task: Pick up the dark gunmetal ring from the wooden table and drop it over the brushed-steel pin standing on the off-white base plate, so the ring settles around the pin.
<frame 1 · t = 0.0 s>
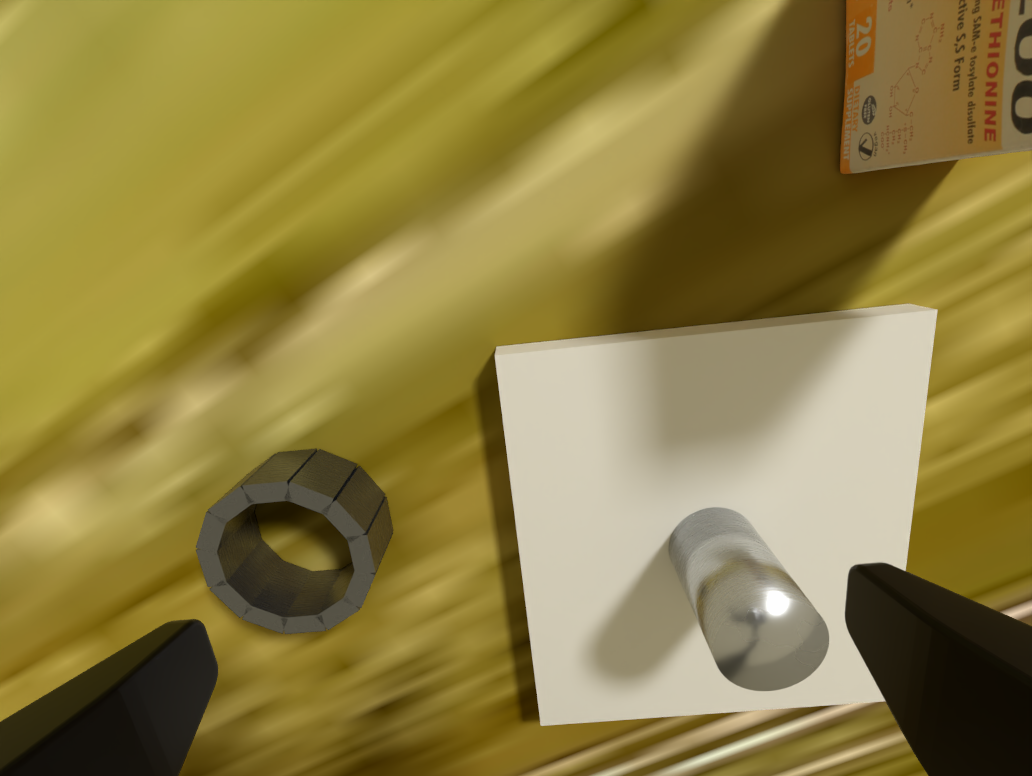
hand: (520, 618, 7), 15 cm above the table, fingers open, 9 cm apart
steel pin: (712, 545, 22), resting on base plate
supplement box: (901, 43, 18), on the table
base plate: (700, 526, 24), on the table
gunmetal ring: (314, 520, 24), on the table
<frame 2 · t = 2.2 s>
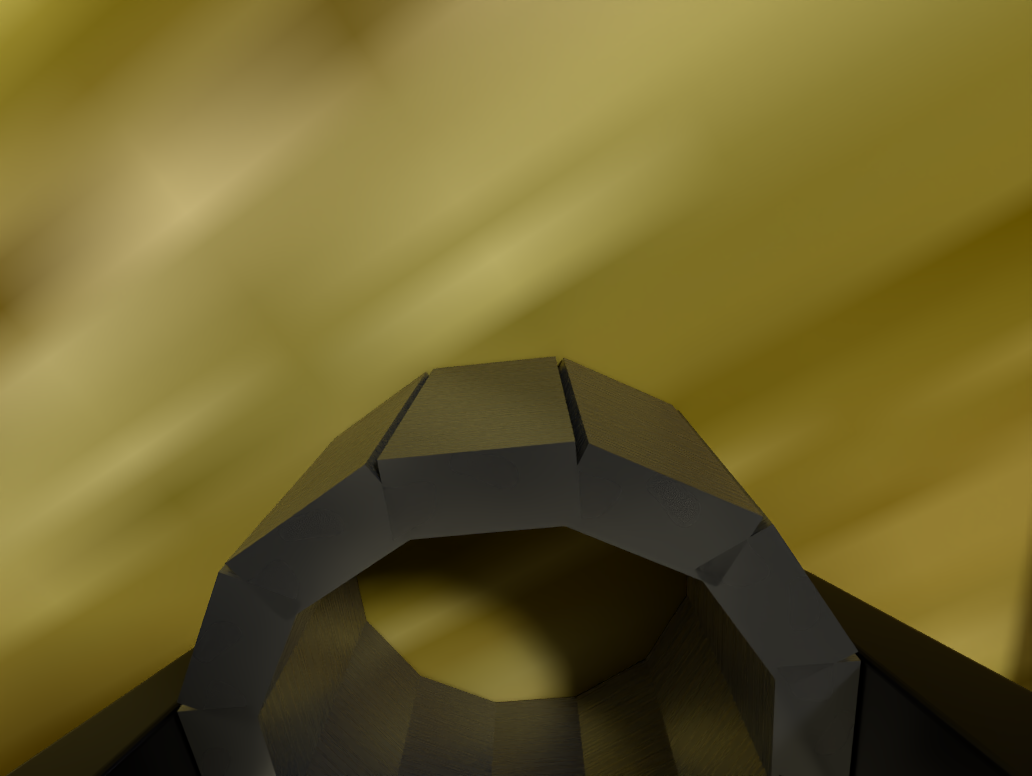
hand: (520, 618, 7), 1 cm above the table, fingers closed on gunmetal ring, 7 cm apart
gunmetal ring: (520, 570, 8), on the table, touching gripper
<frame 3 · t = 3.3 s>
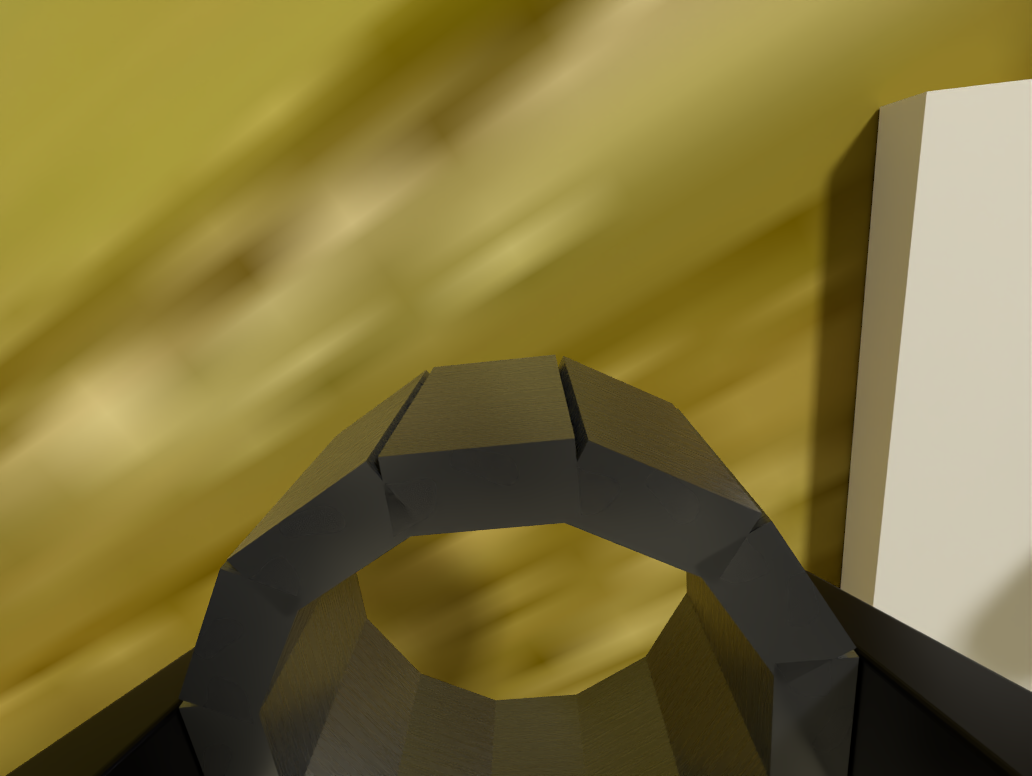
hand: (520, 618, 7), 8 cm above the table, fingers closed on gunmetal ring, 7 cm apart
gunmetal ring: (520, 568, 8), point 7 cm above the table, touching gripper
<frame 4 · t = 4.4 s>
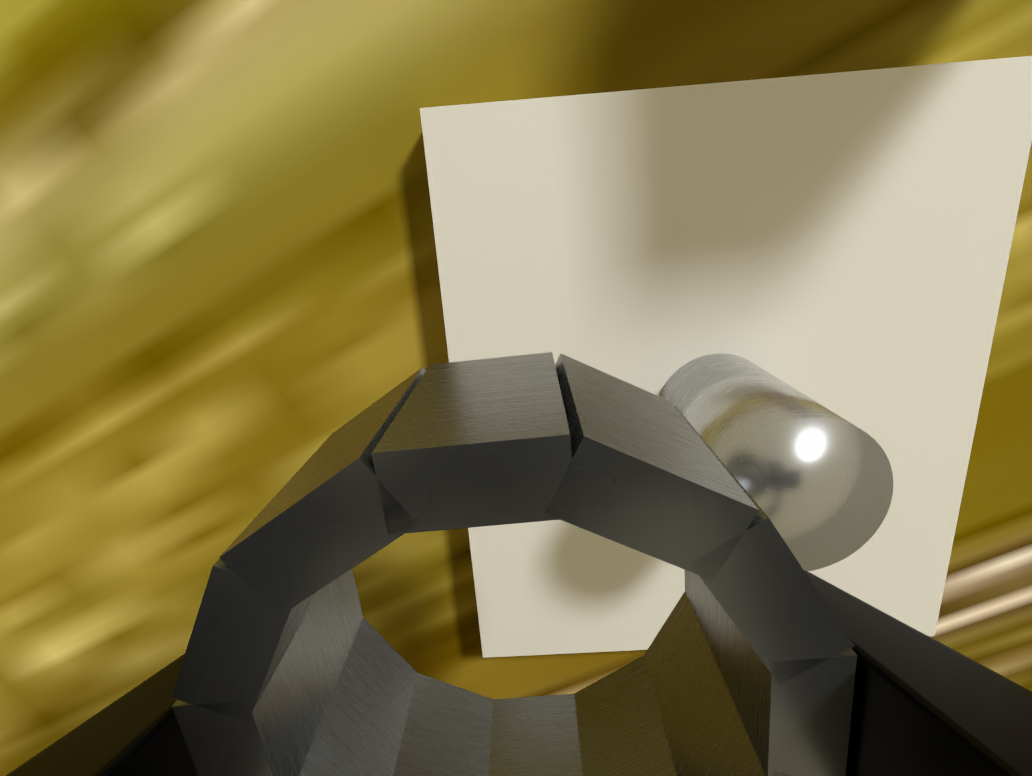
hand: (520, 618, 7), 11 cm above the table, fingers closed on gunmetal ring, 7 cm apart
steel pin: (714, 410, 16), resting on base plate
base plate: (699, 395, 18), on the table
gunmetal ring: (517, 567, 8), point 10 cm above the table, touching gripper
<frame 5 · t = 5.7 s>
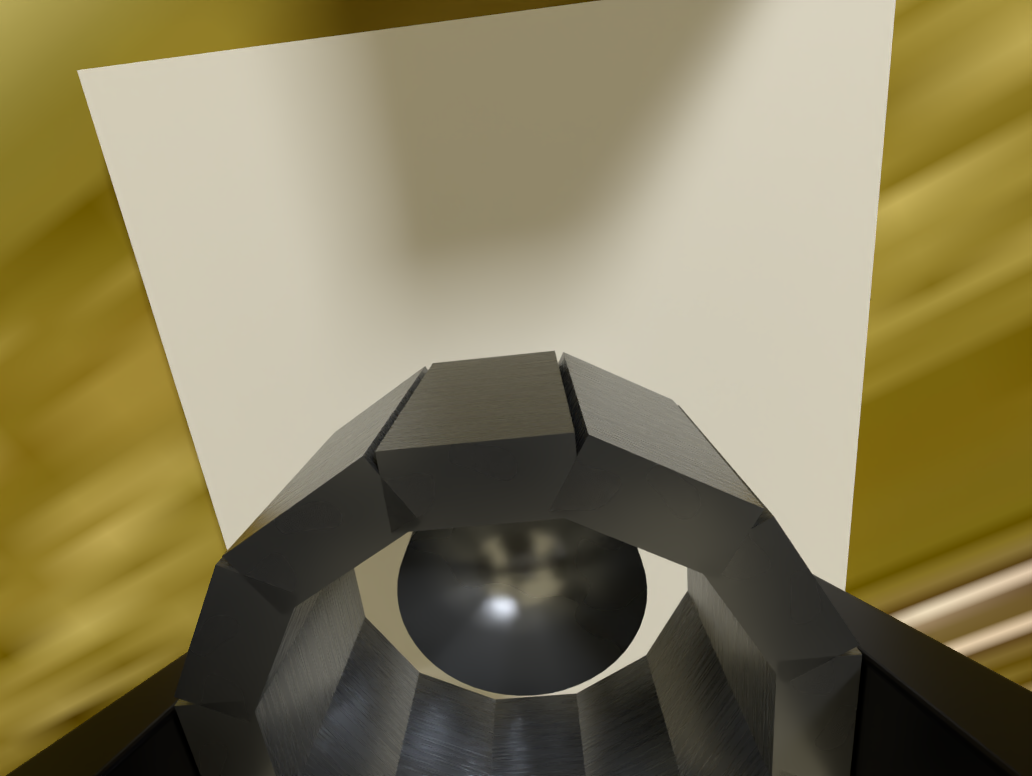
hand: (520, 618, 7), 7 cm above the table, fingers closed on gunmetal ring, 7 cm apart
steel pin: (522, 445, 13), resting on base plate
base plate: (522, 423, 14), on the table
gunmetal ring: (519, 566, 8), point 6 cm above the table, touching gripper
when the fingers open (4 cm above the table, at t = 6.9 s): gunmetal ring drops 2 cm, resting on base plate.
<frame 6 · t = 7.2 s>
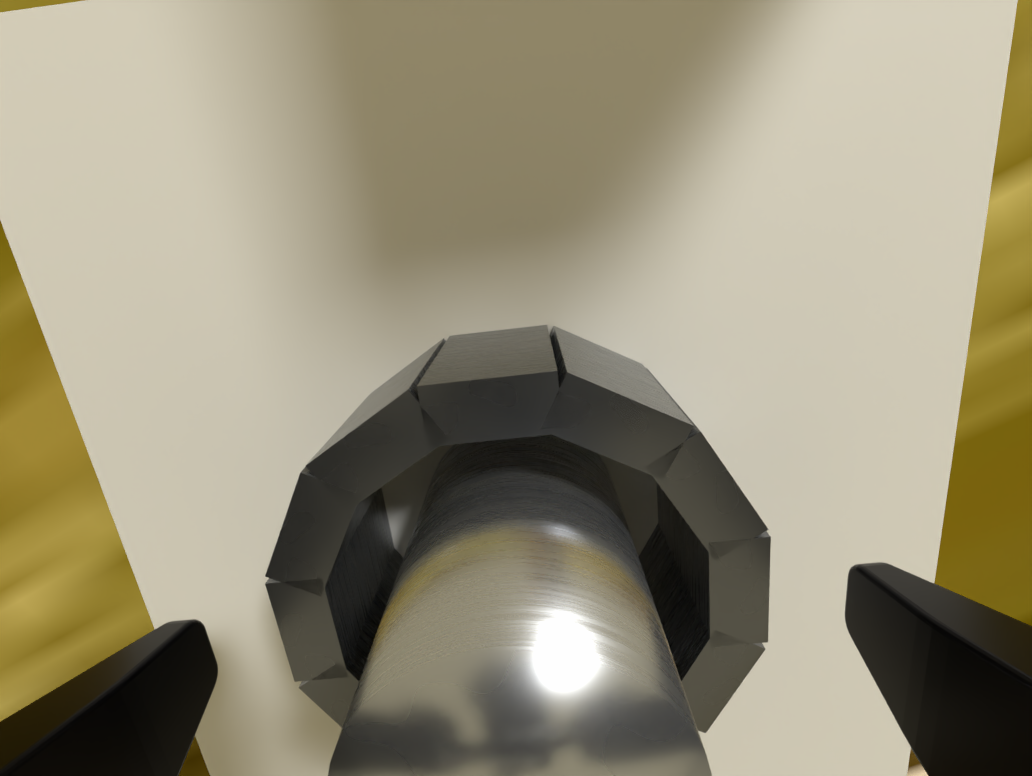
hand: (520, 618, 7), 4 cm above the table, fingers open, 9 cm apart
steel pin: (521, 506, 10), resting on base plate
base plate: (521, 471, 12), on the table
gunmetal ring: (520, 503, 10), point 1 cm above the table, touching base plate
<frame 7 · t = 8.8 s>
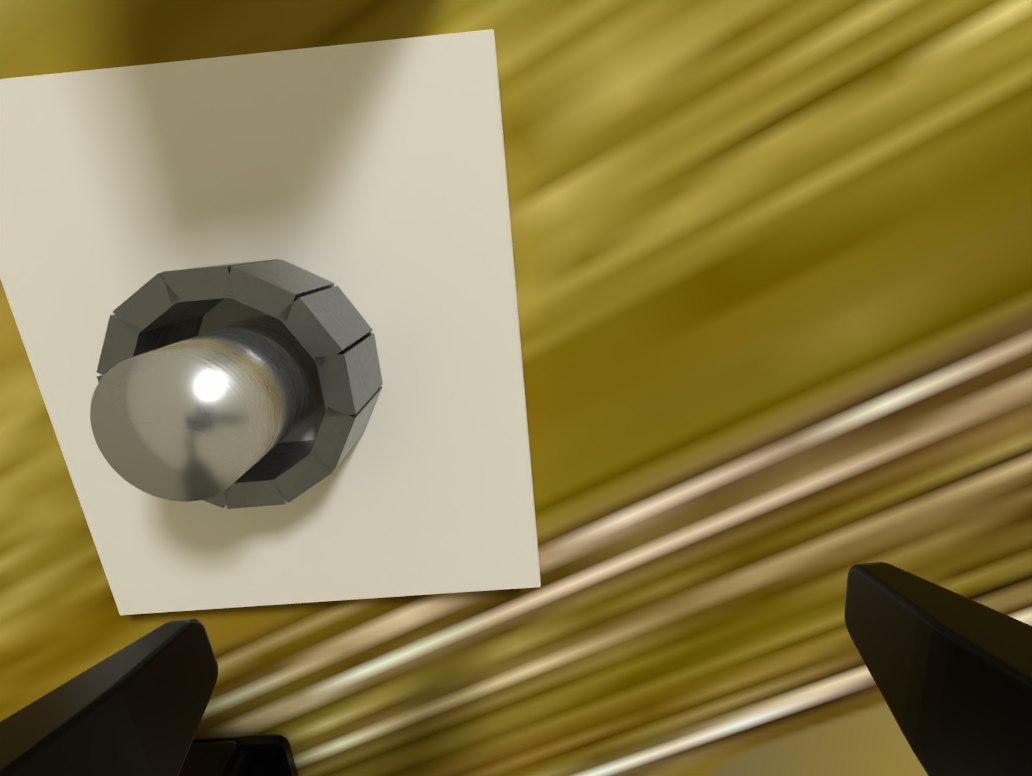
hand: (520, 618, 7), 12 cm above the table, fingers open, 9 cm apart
steel pin: (276, 369, 17), resting on base plate
base plate: (295, 358, 19), on the table
gunmetal ring: (275, 368, 17), point 1 cm above the table, touching base plate
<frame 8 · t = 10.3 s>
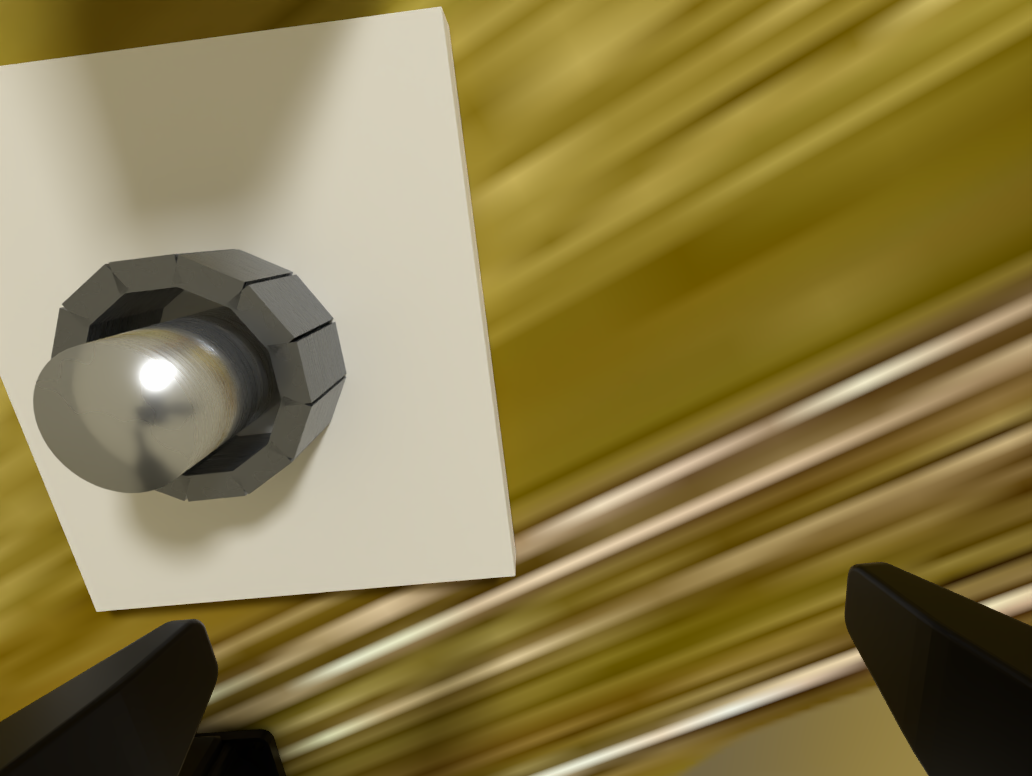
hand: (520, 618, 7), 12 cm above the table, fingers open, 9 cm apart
steel pin: (239, 361, 17), resting on base plate
base plate: (261, 350, 19), on the table
gunmetal ring: (238, 359, 17), point 1 cm above the table, touching base plate
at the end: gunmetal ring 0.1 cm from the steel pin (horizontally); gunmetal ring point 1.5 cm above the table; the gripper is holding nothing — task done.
